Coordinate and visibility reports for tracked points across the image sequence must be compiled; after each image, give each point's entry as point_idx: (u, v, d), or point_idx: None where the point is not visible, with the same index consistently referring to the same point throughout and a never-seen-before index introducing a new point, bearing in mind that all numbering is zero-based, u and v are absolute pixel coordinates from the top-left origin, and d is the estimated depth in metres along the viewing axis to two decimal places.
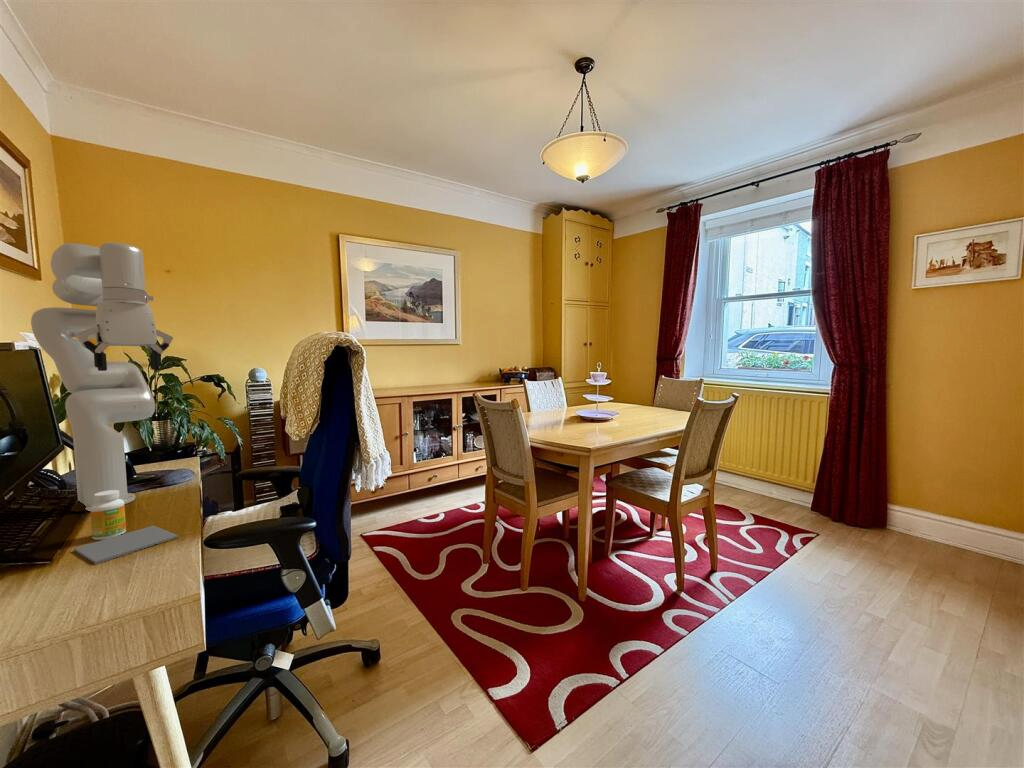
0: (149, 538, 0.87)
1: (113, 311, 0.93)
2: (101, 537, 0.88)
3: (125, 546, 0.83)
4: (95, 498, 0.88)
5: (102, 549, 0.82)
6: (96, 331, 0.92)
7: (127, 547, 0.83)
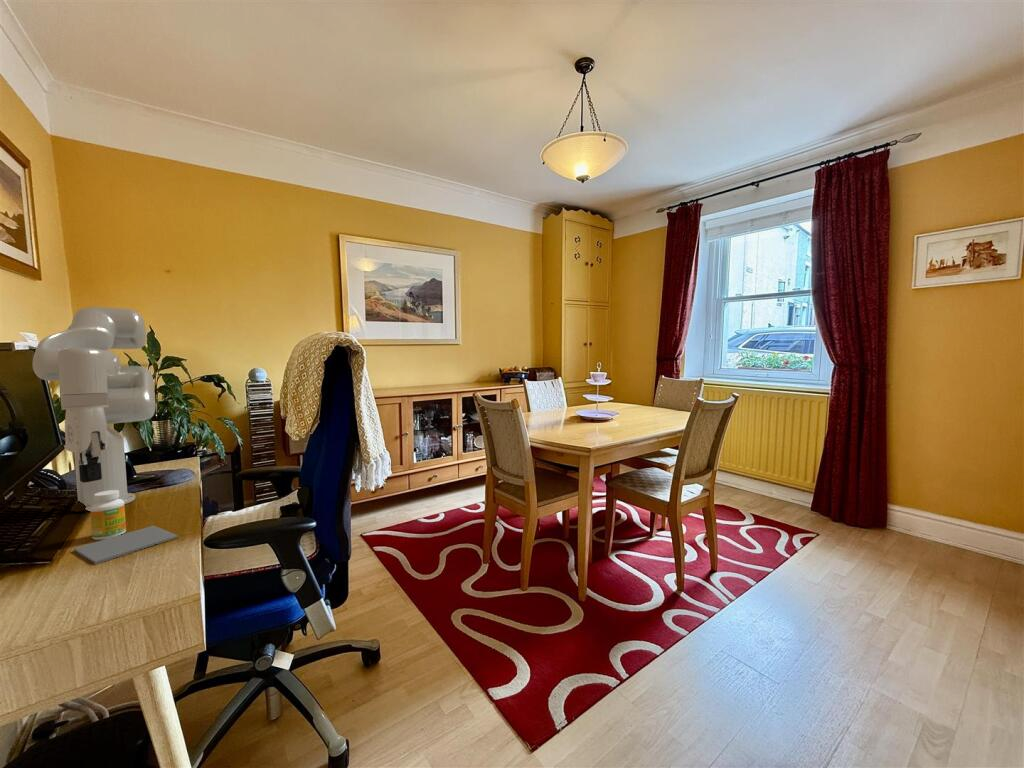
0: (149, 538, 0.87)
1: None
2: (101, 537, 0.88)
3: (125, 546, 0.83)
4: (95, 498, 0.88)
5: (102, 549, 0.82)
6: None
7: (127, 547, 0.83)
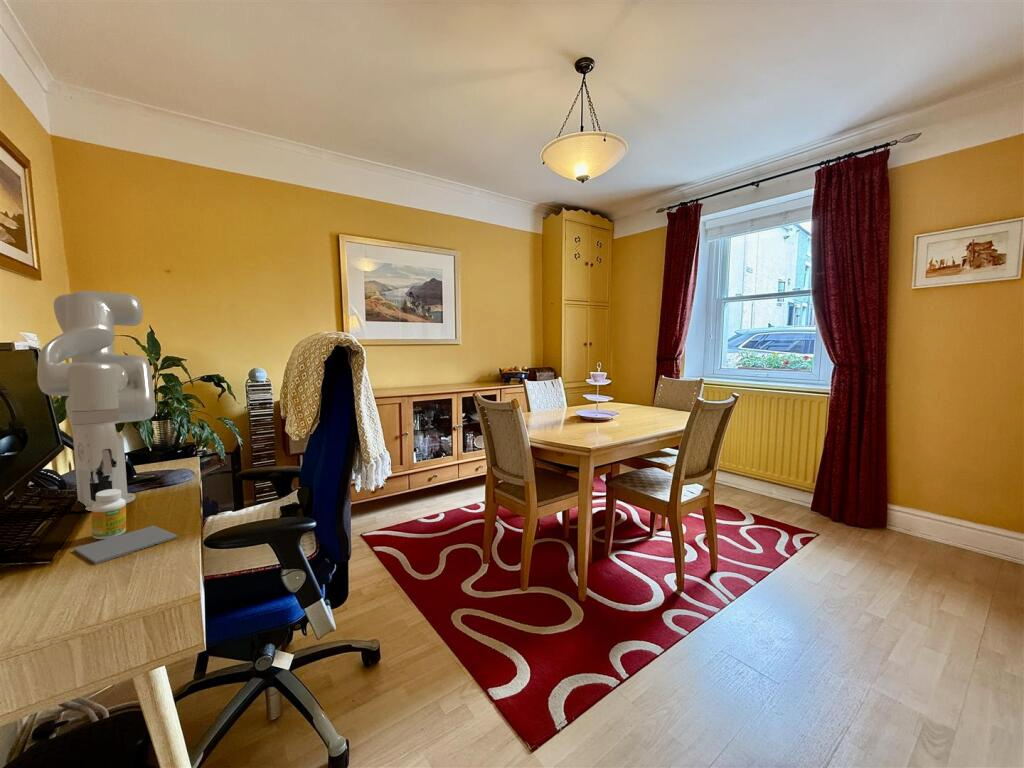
0: (149, 538, 0.87)
1: None
2: (101, 537, 0.88)
3: (125, 546, 0.83)
4: (97, 498, 0.87)
5: (102, 549, 0.82)
6: None
7: (127, 547, 0.83)
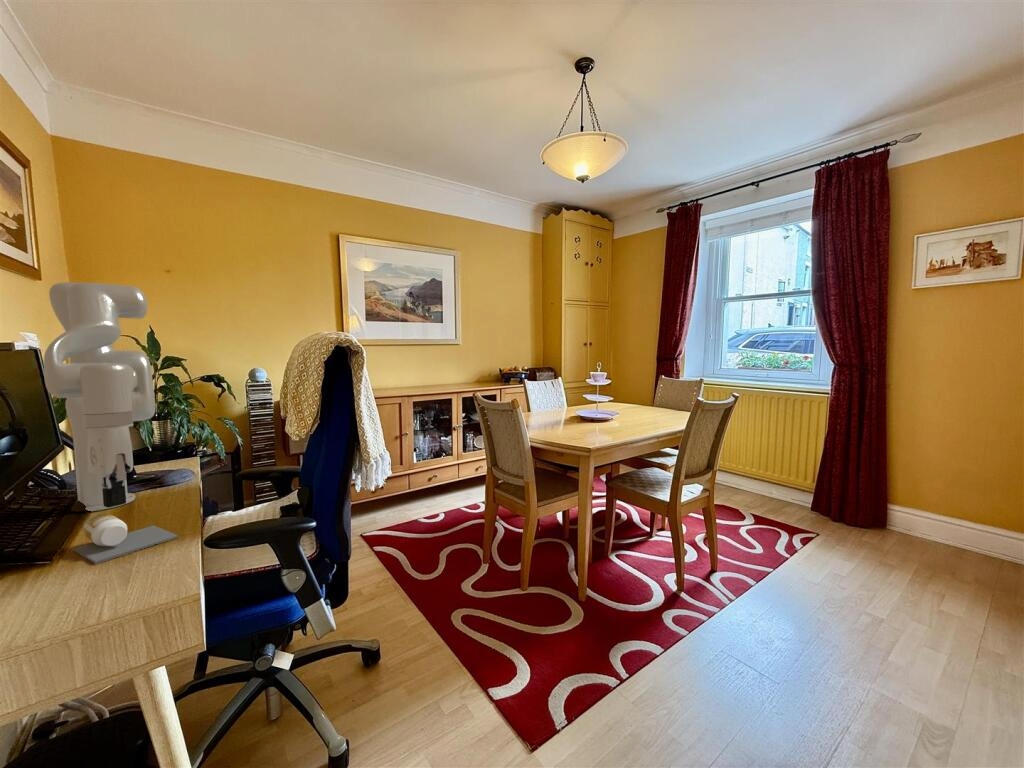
0: (149, 538, 0.87)
1: None
2: None
3: (125, 546, 0.83)
4: (106, 545, 0.82)
5: (102, 549, 0.82)
6: None
7: (127, 547, 0.83)
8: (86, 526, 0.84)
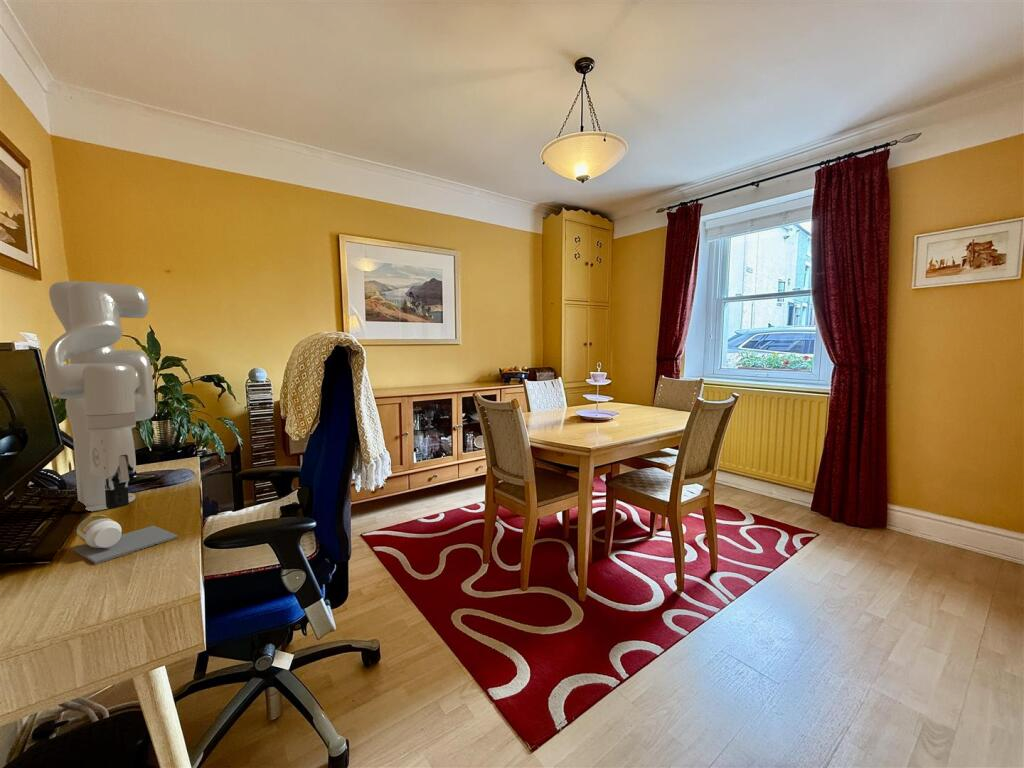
0: (149, 538, 0.87)
1: None
2: None
3: (125, 546, 0.83)
4: None
5: (102, 549, 0.82)
6: None
7: (127, 547, 0.83)
8: (78, 532, 0.83)
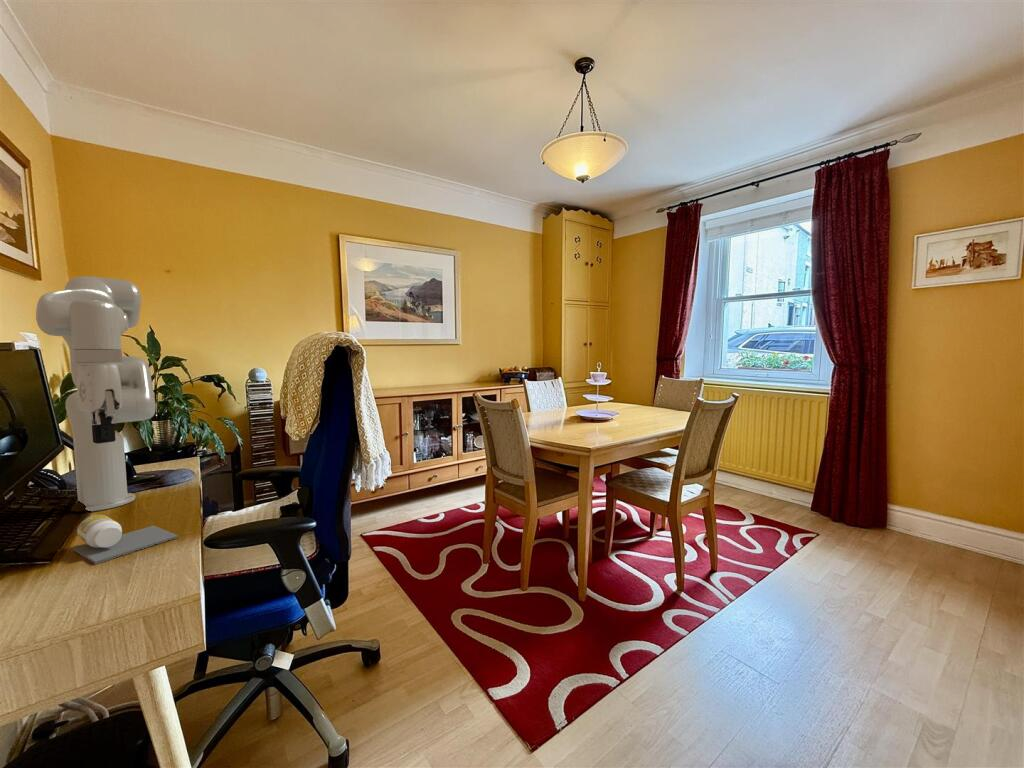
0: (149, 538, 0.87)
1: None
2: None
3: (125, 546, 0.83)
4: None
5: (102, 549, 0.82)
6: None
7: (127, 547, 0.83)
8: (79, 532, 0.83)
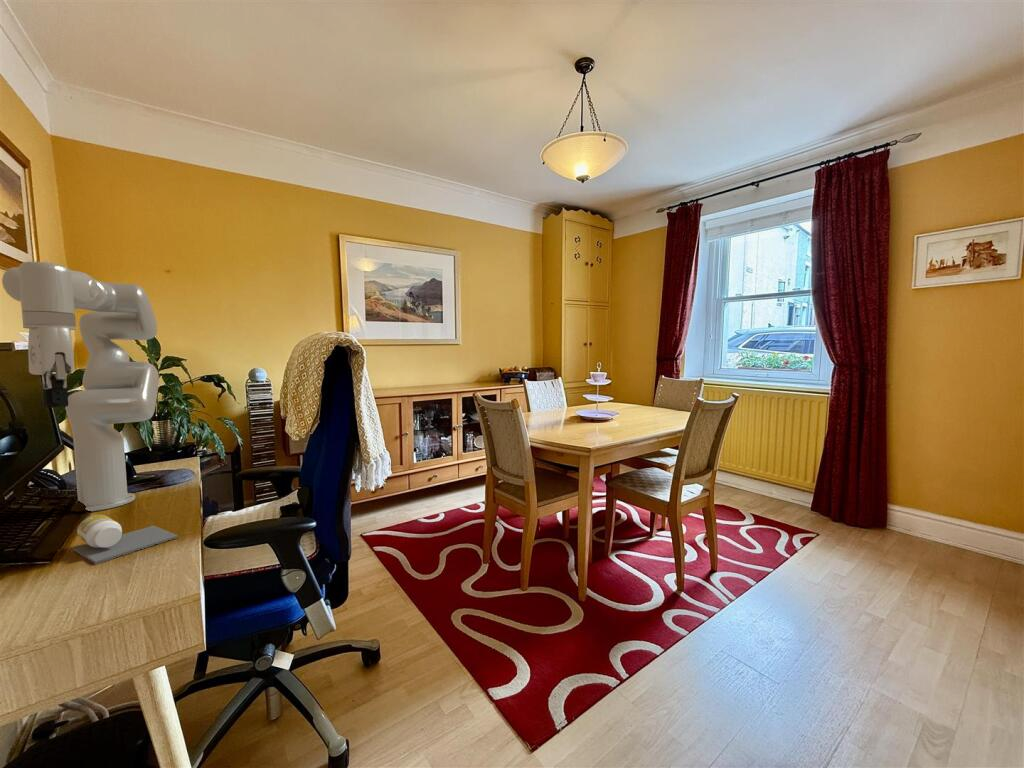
0: (149, 538, 0.87)
1: None
2: None
3: (125, 546, 0.83)
4: None
5: (102, 549, 0.82)
6: None
7: (127, 547, 0.83)
8: (79, 532, 0.83)
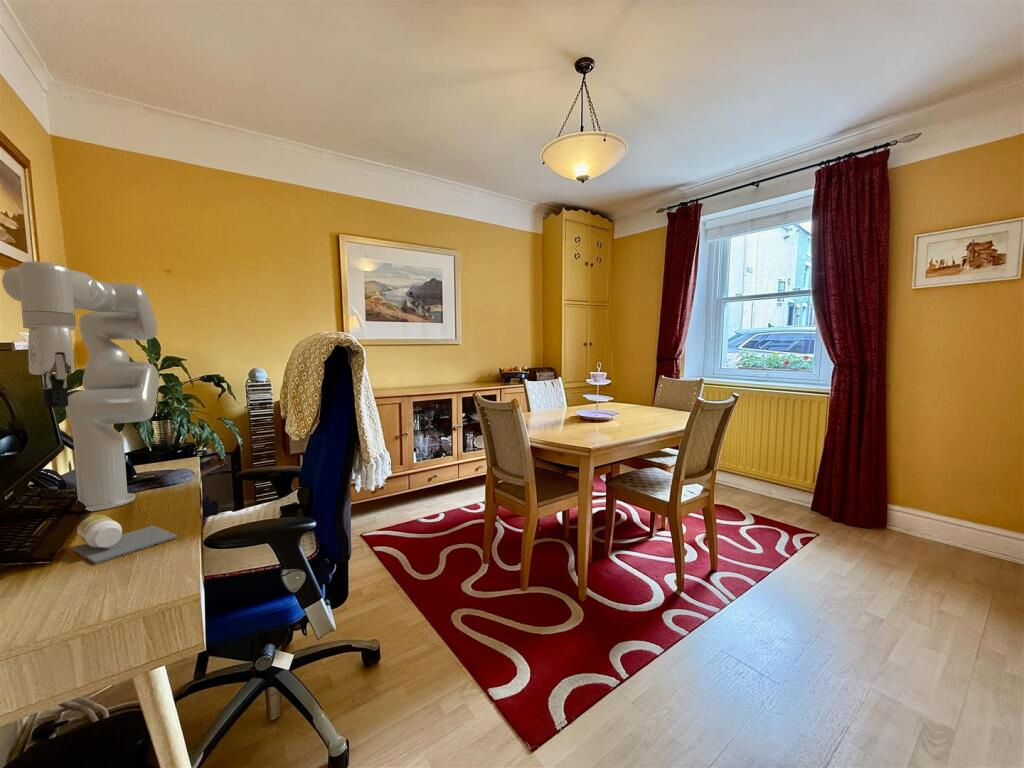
0: (149, 538, 0.87)
1: None
2: None
3: (125, 546, 0.83)
4: None
5: (102, 549, 0.82)
6: None
7: (127, 547, 0.83)
8: (79, 532, 0.83)
